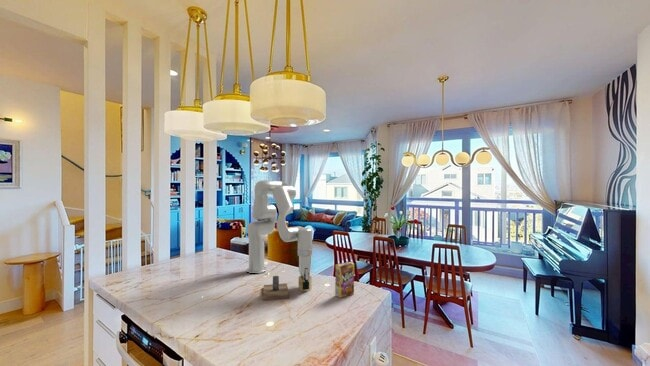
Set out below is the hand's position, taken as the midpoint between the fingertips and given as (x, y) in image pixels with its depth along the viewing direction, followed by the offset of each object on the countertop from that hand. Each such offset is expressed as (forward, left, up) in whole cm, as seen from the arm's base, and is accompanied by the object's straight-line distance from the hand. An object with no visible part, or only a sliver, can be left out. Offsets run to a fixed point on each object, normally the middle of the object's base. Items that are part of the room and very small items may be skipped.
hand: (304, 286), depth 135 cm
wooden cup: (0, 0, -1) cm, 1 cm away
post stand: (+2, -15, -1) cm, 15 cm away
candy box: (+12, +18, -1) cm, 22 cm away
